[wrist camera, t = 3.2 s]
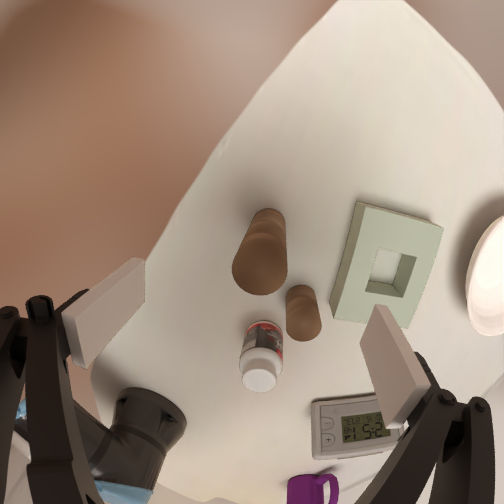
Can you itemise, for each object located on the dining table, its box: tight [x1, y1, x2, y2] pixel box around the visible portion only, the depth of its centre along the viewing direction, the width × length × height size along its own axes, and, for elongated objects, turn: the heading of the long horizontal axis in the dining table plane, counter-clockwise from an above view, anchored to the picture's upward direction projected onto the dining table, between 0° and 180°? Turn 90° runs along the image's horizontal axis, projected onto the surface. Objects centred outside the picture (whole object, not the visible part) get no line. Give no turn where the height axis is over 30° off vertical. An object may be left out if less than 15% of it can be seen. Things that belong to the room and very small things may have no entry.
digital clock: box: [311, 394, 404, 460], centre depth 38 cm, size 16×9×11 cm, turn 83°
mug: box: [287, 474, 339, 504], centre depth 46 cm, size 9×16×15 cm, turn 148°
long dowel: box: [232, 208, 287, 295], centre depth 28 cm, size 4×4×15 cm
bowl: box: [465, 215, 504, 336], centre depth 30 cm, size 20×20×6 cm
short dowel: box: [286, 285, 322, 341], centre depth 34 cm, size 4×4×7 cm
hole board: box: [329, 202, 444, 328], centre depth 33 cm, size 11×14×4 cm
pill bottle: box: [239, 321, 283, 392], centre depth 35 cm, size 5×5×10 cm
